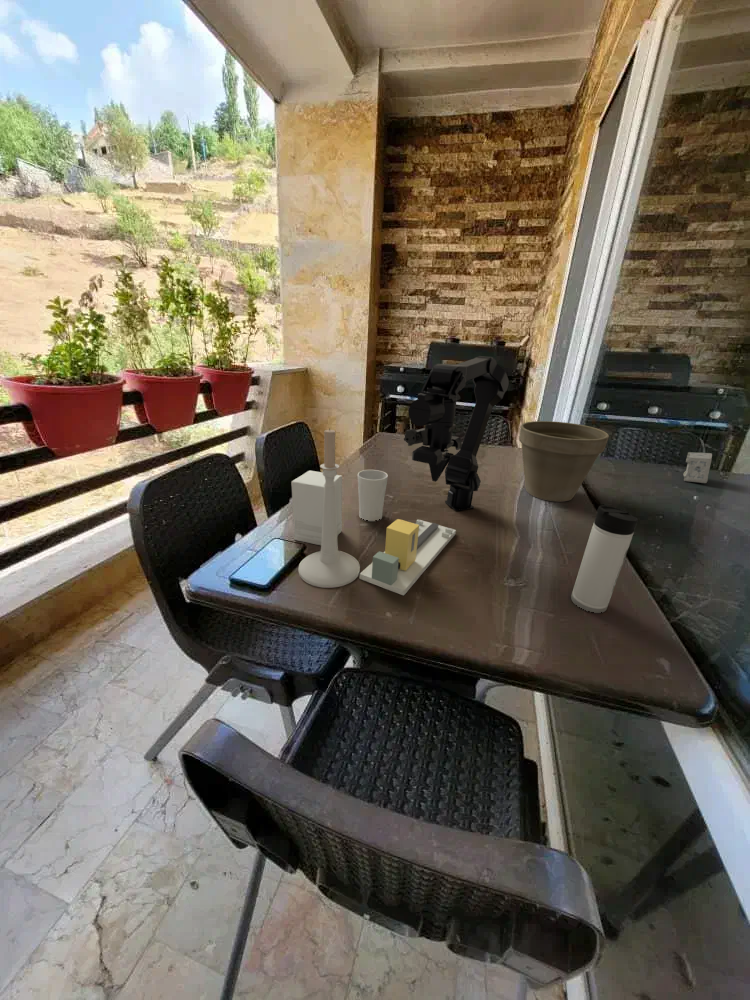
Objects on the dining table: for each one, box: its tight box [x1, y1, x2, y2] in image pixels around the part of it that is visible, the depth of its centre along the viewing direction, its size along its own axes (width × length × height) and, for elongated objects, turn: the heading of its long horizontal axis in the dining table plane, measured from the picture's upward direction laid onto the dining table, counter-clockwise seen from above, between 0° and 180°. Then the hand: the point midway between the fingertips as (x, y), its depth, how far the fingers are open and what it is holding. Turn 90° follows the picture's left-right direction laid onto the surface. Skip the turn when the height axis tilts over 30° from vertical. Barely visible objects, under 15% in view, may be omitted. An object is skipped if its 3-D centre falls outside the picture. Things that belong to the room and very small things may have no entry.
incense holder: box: [682, 451, 713, 484], centre depth 147 cm, size 10×8×10 cm
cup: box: [357, 469, 389, 522], centre depth 104 cm, size 8×8×12 cm
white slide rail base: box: [359, 518, 457, 596], centre depth 88 cm, size 30×10×6 cm, turn 150°
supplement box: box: [290, 470, 343, 546], centre depth 92 cm, size 9×9×15 cm
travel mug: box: [570, 505, 639, 614], centre depth 71 cm, size 6×7×20 cm
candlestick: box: [297, 427, 361, 589], centre depth 76 cm, size 13×13×30 cm
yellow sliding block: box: [384, 518, 419, 571], centre depth 81 cm, size 5×5×8 cm
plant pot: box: [518, 420, 610, 503], centre depth 124 cm, size 25×25×22 cm
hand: (434, 481), depth 99 cm, fingers closed
